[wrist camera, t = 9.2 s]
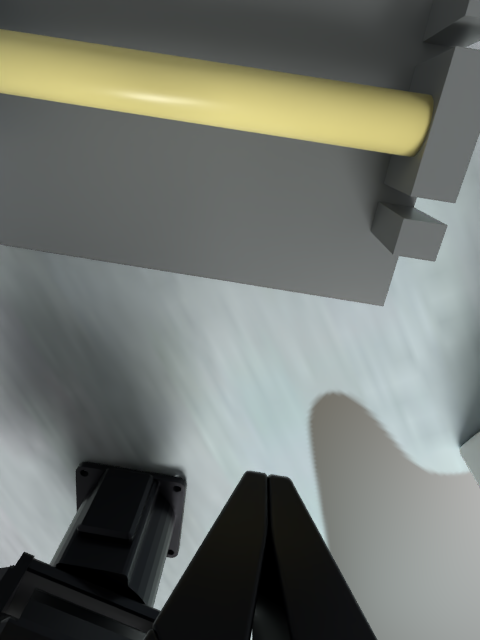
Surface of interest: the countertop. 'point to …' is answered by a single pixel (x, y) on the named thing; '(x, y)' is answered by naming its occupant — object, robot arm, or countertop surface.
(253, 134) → the sliding rail with carriage
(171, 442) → the countertop surface
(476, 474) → the medicine bottle
